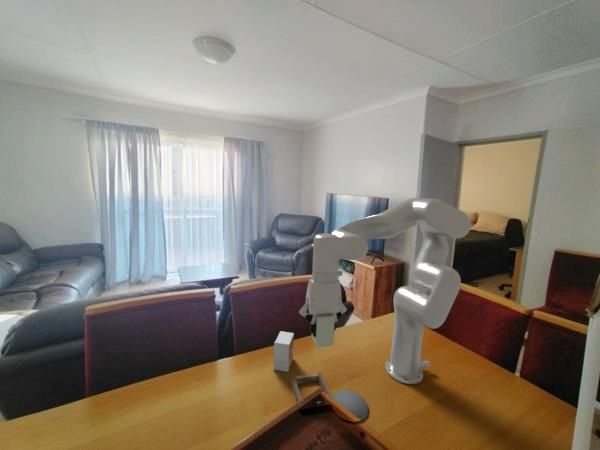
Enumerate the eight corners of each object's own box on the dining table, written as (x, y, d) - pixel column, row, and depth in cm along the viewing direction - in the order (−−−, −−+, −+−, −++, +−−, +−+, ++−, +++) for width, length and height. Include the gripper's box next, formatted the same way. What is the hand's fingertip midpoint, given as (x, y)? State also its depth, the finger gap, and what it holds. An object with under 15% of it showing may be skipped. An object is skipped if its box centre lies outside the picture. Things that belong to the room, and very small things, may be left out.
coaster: (357, 389, 83) (357, 387, 83) (375, 418, 73) (375, 416, 73) (325, 394, 81) (325, 392, 81) (339, 425, 70) (339, 423, 70)
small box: (288, 373, 90) (289, 345, 88) (272, 370, 91) (273, 342, 89) (293, 358, 97) (294, 332, 96) (279, 356, 98) (280, 330, 97)
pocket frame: (320, 377, 88) (320, 372, 88) (332, 405, 77) (332, 399, 77) (290, 382, 85) (291, 376, 85) (299, 410, 74) (299, 404, 74)
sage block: (326, 334, 81) (327, 307, 80) (333, 345, 76) (334, 316, 74) (311, 335, 80) (312, 308, 79) (316, 347, 74) (318, 318, 73)
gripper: (347, 270, 81) (343, 324, 83) (294, 273, 77) (292, 329, 79) (357, 278, 73) (353, 337, 76) (299, 282, 70) (297, 343, 72)
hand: (322, 332), depth 78 cm, fingers closed on sage block, 5 cm apart
